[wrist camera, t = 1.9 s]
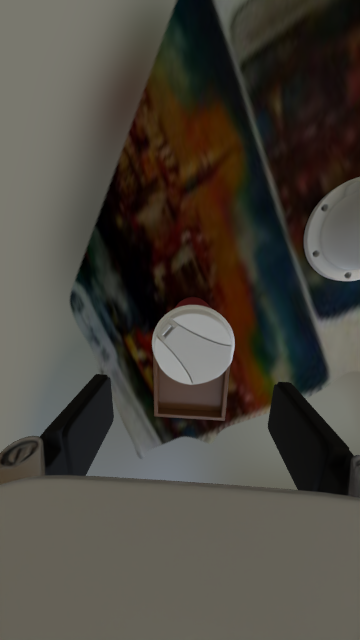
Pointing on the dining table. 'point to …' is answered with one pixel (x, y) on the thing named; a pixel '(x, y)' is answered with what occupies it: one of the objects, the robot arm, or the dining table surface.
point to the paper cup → (193, 342)
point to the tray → (189, 396)
